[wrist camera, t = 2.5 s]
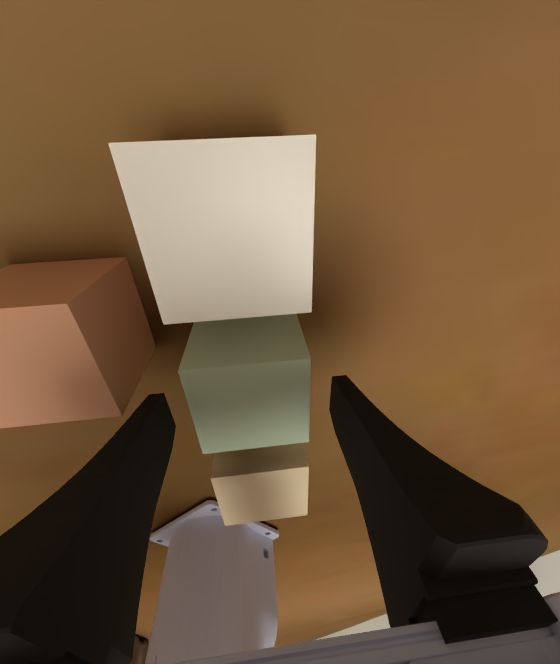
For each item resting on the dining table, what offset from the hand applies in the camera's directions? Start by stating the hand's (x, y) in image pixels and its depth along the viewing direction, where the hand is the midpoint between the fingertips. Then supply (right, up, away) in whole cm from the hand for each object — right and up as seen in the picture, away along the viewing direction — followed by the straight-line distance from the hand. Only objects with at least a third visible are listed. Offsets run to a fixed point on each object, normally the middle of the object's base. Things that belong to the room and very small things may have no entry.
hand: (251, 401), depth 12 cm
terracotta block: (-8, +4, +2) cm, 9 cm away
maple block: (0, -4, +8) cm, 8 cm away
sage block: (0, +2, +4) cm, 5 cm away
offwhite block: (-1, +8, 0) cm, 8 cm away
